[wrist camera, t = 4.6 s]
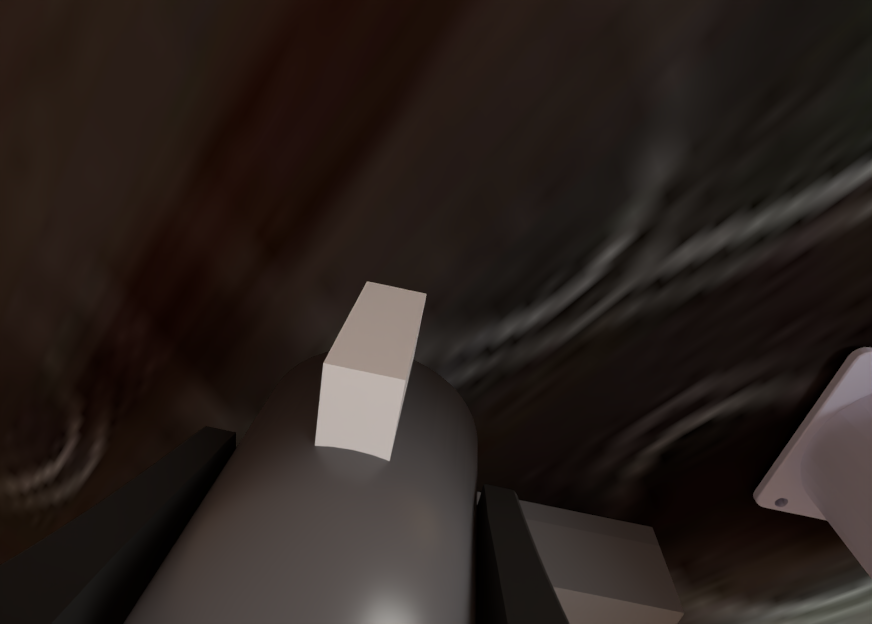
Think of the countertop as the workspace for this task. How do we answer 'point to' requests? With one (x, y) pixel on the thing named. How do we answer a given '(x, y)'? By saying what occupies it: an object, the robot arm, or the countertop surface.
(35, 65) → the countertop surface
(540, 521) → the foam packaging insert
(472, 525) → the dark grey rounded piece
